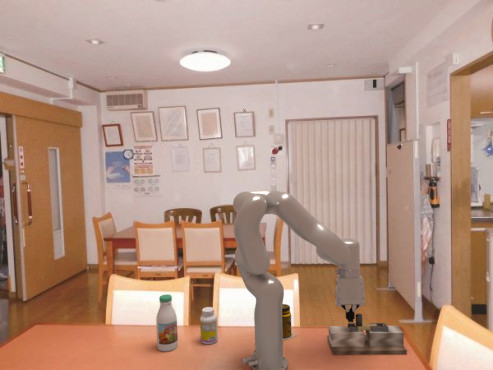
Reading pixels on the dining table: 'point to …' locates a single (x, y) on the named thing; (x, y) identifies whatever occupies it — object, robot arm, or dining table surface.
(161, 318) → the milk bottle
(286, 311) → the condiment
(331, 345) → the grey brown double block
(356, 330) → the lock hardware
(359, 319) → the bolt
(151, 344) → the dining table surface
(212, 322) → the supplement bottle
